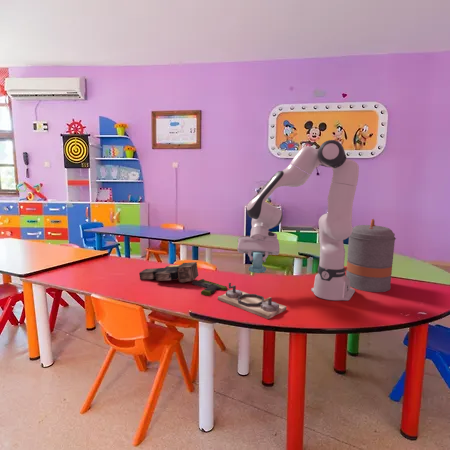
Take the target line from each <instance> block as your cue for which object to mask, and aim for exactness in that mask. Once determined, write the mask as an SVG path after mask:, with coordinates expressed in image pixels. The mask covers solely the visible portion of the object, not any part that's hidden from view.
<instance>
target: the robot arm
mask: <svg viewBox="0 0 450 450" xmlns="http://www.w3.org/2000/svg"><path fill="white" fill-rule="evenodd" d="M318 166H322V167H325V168H331V169H332V178H331V182H330V186H329V189H328V195H327V212H326V213H323V214H322V215H321V216H320V217H319V218H318V224H317V225H318V230H319V231H318V234H319V237H318V238H319V248H320V249H319V264H318V267H317V273H316V274H315V277H314V282H313V283H314V284H313V287H311V289H310V291H311V292H312V293H313V294H314V295H315V296H316V297H318V298H320V299H323V300H326V301H350V300H351V298H352V297H353V295H354V294H355V292H356V290H355V288H352V287H350V279H349V278H348V277H347V276H346V270H347V265H345V257H346V249H345V245H344V240H347V239H349V237H350V235H351V234H352V230H353V223H352V222H353V205H354V200H355V195H356V191H357V185H358V181H359V172H360V171H359V168H360V167H359V164H358V162H356V161H355V160H353V159H349V158H347V155H346V151H345V148H344V145H342V143H341V142H340V141H337V140H335V139H329V140H326V141H324V142H323V143H321V145H320V146H319V148H315V147H313V146H309V145H306V146H303V147H302V148H301V149H300V150H299V151H298V152H297V153H296V154H295V155H294V157H293V159H292V160H291V161H290V163H289V165H287V167H285V168H284V169H283V170H278V171H277V172H275V173H274V174H273V176H271V177H270V179H269V180H267V181H266V184H264V186H263V187H262V188H261V189H260V190H259V191H258V193H257V194H256V195H255V196H254V197H253V198H252V199H250V200H249V202H248V203H247V205H246V213H247V216H248V217H249V218H251V229H250V235H241V236H238V237H237V238H238V239H237V252H238V253H239V254H246V255H248V257H249V261H250V262H253V253H254V252H261V253H263V255H264V256H262V263H266V259H267V258H268V257H269V255H271V256H274V255H275V256H278V255H279V254H280V242H279V239H278V234H277V233H275V232H273V231H270V230H271V229H273V228H276V227H277V226H280V225H281V223H282V222H283V218H284V217H283V211H282V209H281V208H279V207H277V206H275V205H273V204H270V203H269V202H268V201H267V200H268V199H269V198H270V196H271V195H272V194H273V192H274V191H276V189H278V188H280V187H290V188H295V187H296V188H297V187H301V186H303V185H304V184H306V182H307V181H308V179H309V178H310V177H311V175H312V173H313V172H314V171H315V169H316V168H317V167H318ZM266 201H267V202H266Z"/></svg>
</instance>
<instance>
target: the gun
mask: <svg viewBox="0 0 450 450" xmlns="http://www.w3.org/2000/svg"><path fill="white" fill-rule="evenodd" d="M191 282H192V283H191V284H192V285H193V286H197V287H199V288H203V289H202V290H201V292H200V295H202V296H206V297H207V296H211V295H212V294H214V293H215V292H216V291H227V290H228V286H225V285H222V284H219V283H216V282H212V281H210V280H209V281H208V280H205V279H204V278H200V279H199V280H193V281H191Z"/></svg>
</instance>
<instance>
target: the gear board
mask: <svg viewBox="0 0 450 450" xmlns="http://www.w3.org/2000/svg"><path fill="white" fill-rule="evenodd" d="M272 300H273V298H272V297H271V296H269V297H267V298H265V297H264V296H263V295H259V294H256V293H248V292H245V291H242V290H240V289H237V286H236V285H232V282H228V289H226V291H225V293H224V294H221V295H219V296H217V301H221V303H222V302H223V303H225V304H227V305H231V306H233V307H236V308H239V309H240V310H243V311H246V312H248V313H251V314H254V315H256V316H259V317H262V318H264V319H267V320H269V319H272V318H274V317H275V316H277V315H279V314H281V313H283V312H285V311H287V306H286V305H284V304H280V303H278V302H276V301H272Z"/></svg>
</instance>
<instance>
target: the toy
mask: <svg viewBox="0 0 450 450" xmlns="http://www.w3.org/2000/svg"><path fill="white" fill-rule="evenodd" d="M197 263H198V262H196V261H195V262H193V261H192V262H182V263H181V264H175V265H173V264H172V265H167V266H165V267H158V268H157V267H155V268H154V267H153V268H145V269H143V270H141V271H139V280H155V281H156V282H160V281H161V282H162V281H177V280H178V282H179V283H182V284H183V283H186V282H192V281H195V280H196V278H198V277H199V270H198V264H197Z"/></svg>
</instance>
